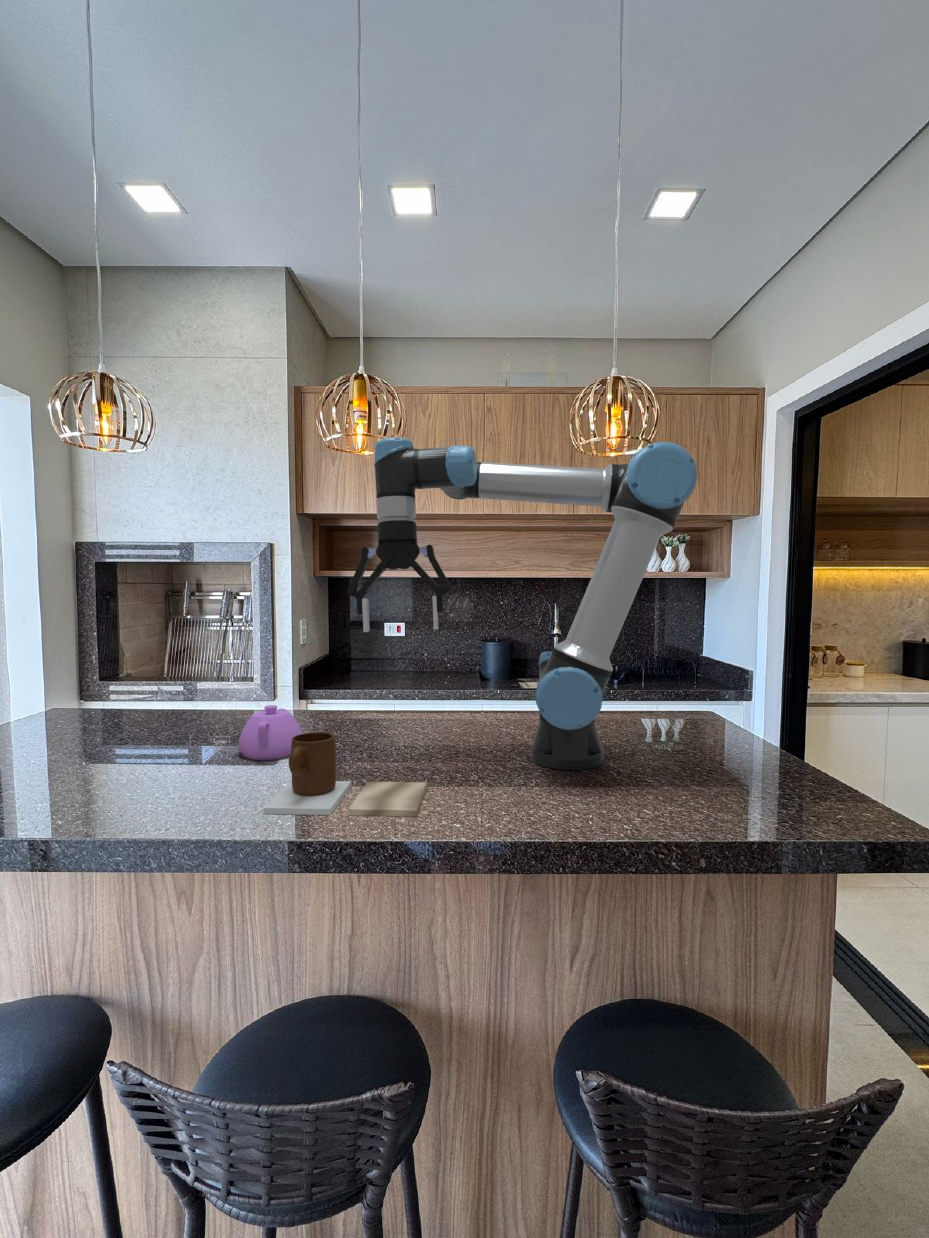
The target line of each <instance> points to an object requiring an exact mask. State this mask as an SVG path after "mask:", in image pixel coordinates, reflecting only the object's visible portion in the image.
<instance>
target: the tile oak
mask: <svg viewBox="0 0 929 1238" xmlns="http://www.w3.org/2000/svg"><path fill="white" fill-rule="evenodd" d="M427 787H428V785H427V782H426V781H425V782H423V781H422V782H421V781H420V782H419V781H418V782H417V781H416V782H415V781H414V782H413V781H410V782H409V781H408V782H407V781H367V782H366V783H365V784H364V785H363V786H362V788H361V790H360V792H359V793H358V794H357V796H356V797H355V799H354V800H353V802H352V803H351V805H349V808H348V811H347V812H348V816H356V817H357V816H359V817H361V816H362V817H363V816H364V817H367V816H369V817H371V816H372V817H417V816H418V813H419V810H420V808H421V805H422V801H423V799H424V797H425V793H426V791H427Z"/></svg>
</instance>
